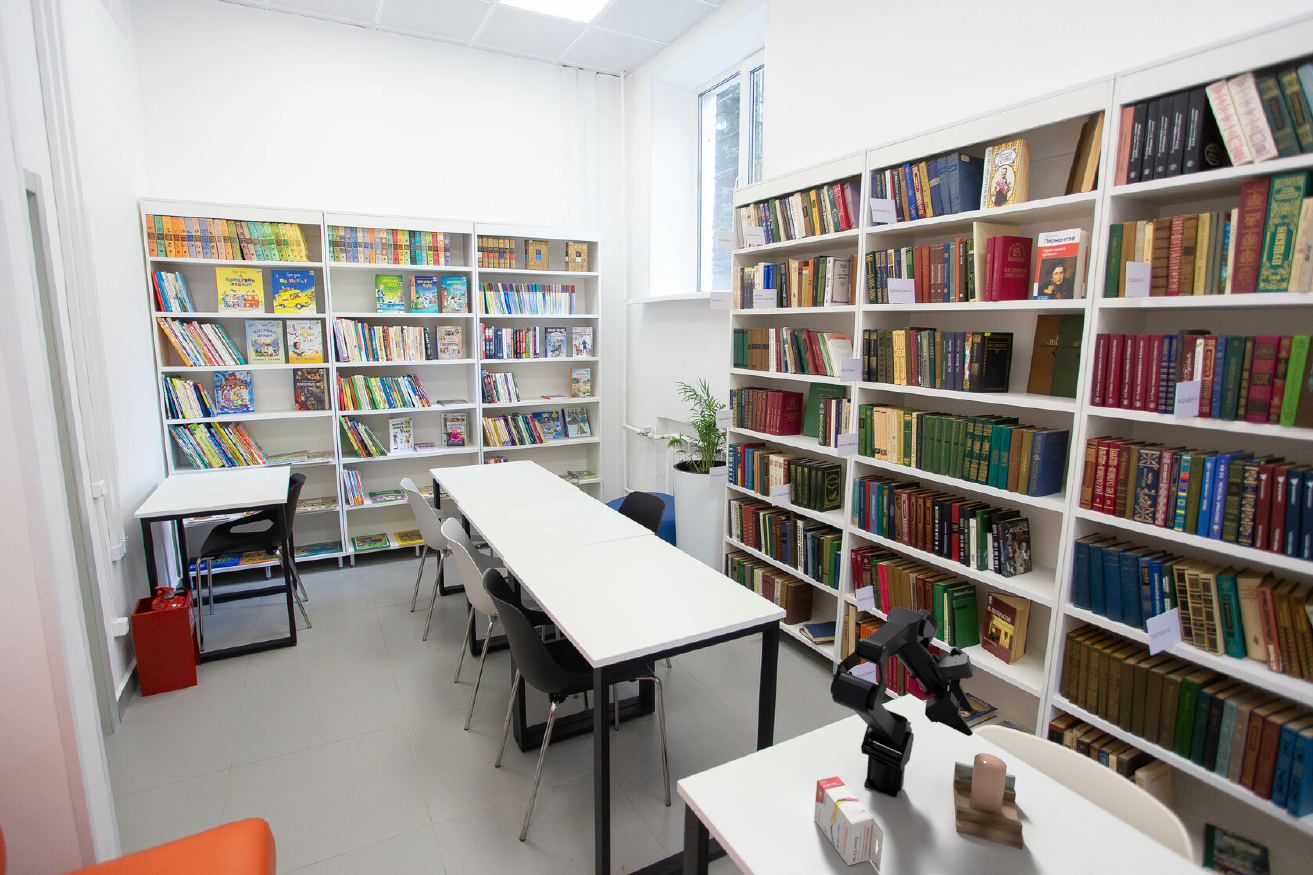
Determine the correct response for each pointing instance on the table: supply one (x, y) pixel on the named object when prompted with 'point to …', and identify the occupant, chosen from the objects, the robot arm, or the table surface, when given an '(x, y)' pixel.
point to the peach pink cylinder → (988, 784)
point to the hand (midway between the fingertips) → (971, 722)
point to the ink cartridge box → (847, 823)
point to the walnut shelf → (980, 822)
